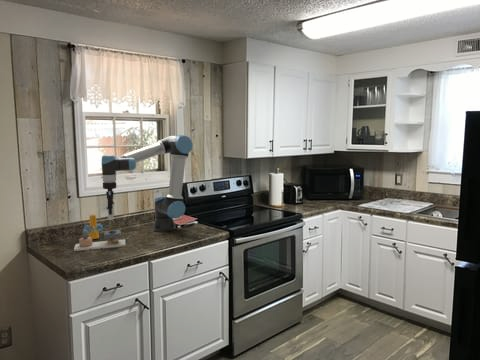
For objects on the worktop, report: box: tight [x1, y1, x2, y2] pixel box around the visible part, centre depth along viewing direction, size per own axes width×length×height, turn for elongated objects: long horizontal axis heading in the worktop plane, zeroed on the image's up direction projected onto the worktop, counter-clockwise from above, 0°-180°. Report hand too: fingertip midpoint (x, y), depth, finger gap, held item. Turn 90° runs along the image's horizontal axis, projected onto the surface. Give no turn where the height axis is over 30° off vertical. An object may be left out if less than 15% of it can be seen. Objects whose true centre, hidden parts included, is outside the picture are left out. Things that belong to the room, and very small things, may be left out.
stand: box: [106, 229, 120, 244], centre depth 226 cm, size 6×6×8 cm
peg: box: [78, 229, 93, 247], centre depth 221 cm, size 7×7×9 cm
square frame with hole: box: [103, 229, 122, 240], centre depth 226 cm, size 9×9×2 cm
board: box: [73, 238, 126, 252], centre depth 224 cm, size 28×11×1 cm, turn 107°
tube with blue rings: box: [83, 214, 104, 240], centre depth 241 cm, size 12×10×15 cm
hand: (111, 217), depth 224 cm, fingers open, 13 cm apart
